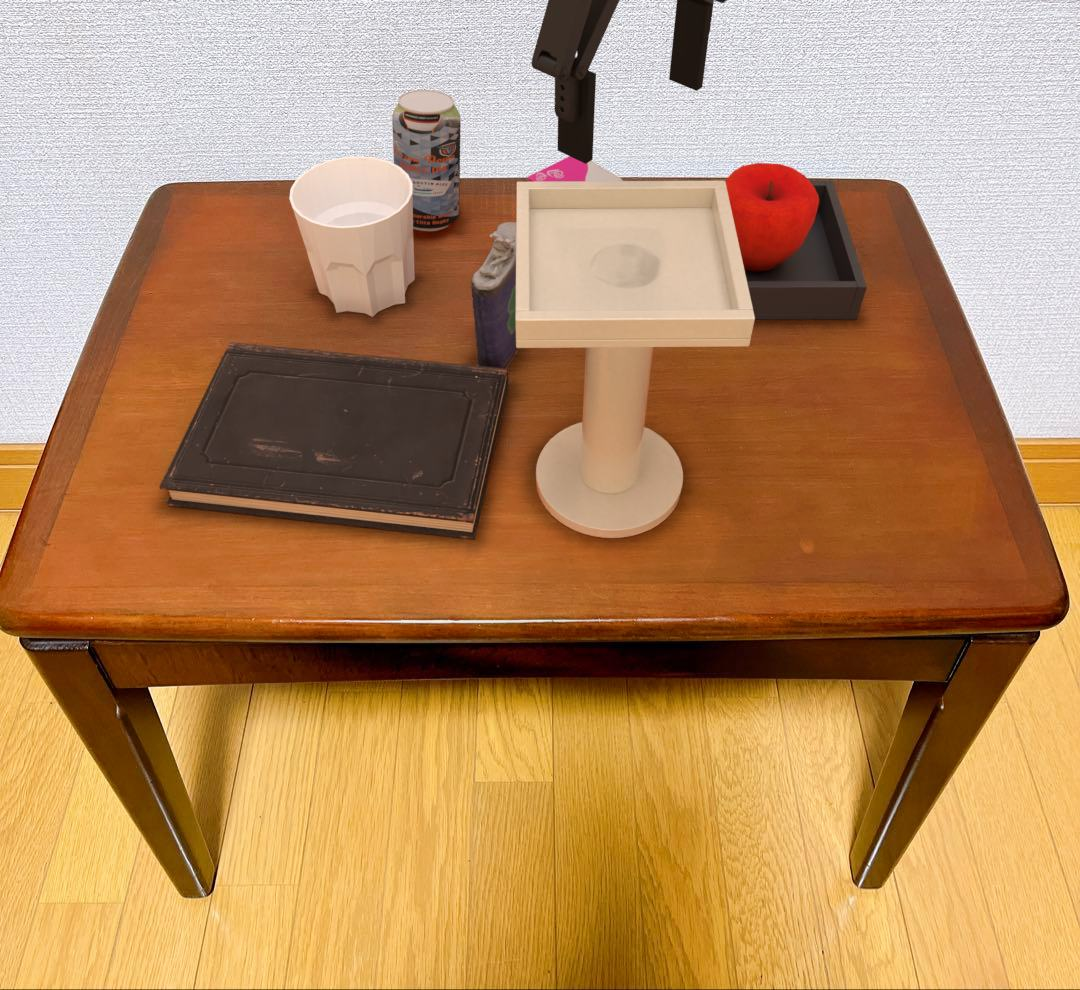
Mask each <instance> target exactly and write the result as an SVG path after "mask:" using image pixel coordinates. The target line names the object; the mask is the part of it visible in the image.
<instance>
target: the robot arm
mask: <svg viewBox="0 0 1080 990" xmlns="http://www.w3.org/2000/svg"><path fill="white" fill-rule="evenodd" d="M714 2H718V3H721V4H724V3H725V2H727V0H676V7H675V17H674V27H673V37H672V47H671V56H670V66H669V76H668V80H669V81H672V82H674V83H676V84H679V85H681V86H683V87H686V88H688V89H691V90H693V91H696V92H697V91H699V90H701V89H702V88H703V85H704V79H705V78H704V77H705V69H706V61H707V53H708V45H709V39H710V32H711V26H712V17H713V11H714ZM619 3H620V0H547V4H546V8H545V12H544V15H543V19H542V21H541V24H540V25H541V26H540V29H539V33H538V37H537V40H536V42H535V47H534V50H533V54H532V56H531V67H532V69H534V70H537V71H539V72H540V73H543V74H544V75H545V74H546V75H547V76H550V77H552V78H554V114H555V116H556V117H557V151H558V152H560V153H562V154H564V155H566V156H567V157H569V156H570V157H572V158H574V159H577V160H579V161H581V162H583V163H585V164H587V163H588V162H590V161H593V159H594V158H593V154H594V133H595V132H594V131H595V111H596V110H595V109H596V85H597V84H596V83H597V73H595V72H593V71H591V70H590V68H591V64H592V62H593V61H594V58H595V56H596V53H597V52H598V49H599V47H600V44H601V43H602V40H603V38H604V35H606V31H607V29H608V27H609V25H610V24H611V23H610V22H611V20H612V18H613V16H614V13H615V11H616V9H617V7H618V6H619V5H618V4H619ZM576 55H577V56H576Z"/></svg>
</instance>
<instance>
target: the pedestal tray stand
mask: <svg viewBox="0 0 1080 990" xmlns="http://www.w3.org/2000/svg"><path fill="white" fill-rule="evenodd" d="M725 181H726V180H623V181H551V182H527V181H516V200H515V201H516V203H515V204H516V205H515V207H516V208H515V209H516V210H515V211H516V213H515V215H516V216H515V219H516V220H515V223H516V304H515V326H516V348H518V349H546V348H547V349H558V348H560V349H561V348H563V349H564V348H565V349H566V348H569V349H571V348H573V349H575V348H576V349H577V348H578V349H581V348H583V349H584V348H585V353H584V355H585V357H584V375H583V395H582V396H583V398H582V399H583V401H582V416H581V417H582V419H581V421H579V422H576V423H574V424H572V425H569V426H567V427H565V428H564V429H562V430H561V431H559V432H557V433H556V434H555V435H553V436H552V437H551V438H550V439H549V440H548V441H547V442H546V444H545V445H544V447H543V448H542V450H541V451H540V453H539V456H538V457H537V462H536V465H535V488H536V491H537V494H538V497H539V500H540V501H541V503H542V505H543V506H544V508H545V510H547V512H548V513H549V514H550V516H552V518H554V519H555V520H556V521H558V522H559V523H561V524H562V525H563V526H565V527H567V528H569V529H571V530H573V531H574V532H577V533H581V534H582V535H587V536H591V537H594V538H595V537H596V538H603V539H622V538H627V537H633V536H637V535H641V534H644V533H646V532H648V531H650V530H652V529H654V528H655V527H658V526H659V525H660V524H662V523H663V522H664V521H665V520H666V519H668V517H669V516H670V515H671V514H672V513H673V511H674V510H675V508H676V507H677V505H678V504H679V501H680V498H681V496H682V495H681V494H682V489H683V482H684V470H683V465H682V462H681V460H680V457H679V456H678V454H677V453H676V451H675V449H674V448H673V446H671V444H670V442H668V441H667V440H666V439H665V438H664V437H663V436H661V435H660V434H659V433H657V432H655V431H654V430H652V429H650V428H649V427H647V426H645V425H646V417H647V407H648V401H649V391H650V381H651V373H652V364H653V357H654V356H653V355H654V349H655V348H713V347H714V348H715V347H717V348H718V347H721V348H722V347H723V348H724V347H725V348H726V347H731V348H732V347H737V348H738V347H739V348H740V347H750V344H751V339H752V335H753V330H754V325H755V316H754V311H753V306H752V302H751V297H750V293H749V288H748V284H747V279H746V274H745V270H744V265H743V261H742V256H741V251H740V247H739V242H738V238H737V233H736V228H735V224H734V219H733V215H732V210H731V205H730V201H729V196H728V192H727V187H726V182H725Z"/></svg>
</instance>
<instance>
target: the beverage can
mask: <svg viewBox="0 0 1080 990" xmlns="http://www.w3.org/2000/svg"><path fill="white" fill-rule="evenodd" d="M391 117H392V118H391V119H392V120H391V121H392V123H391V125H392V147H393V148H392V151H393V164H395V165H397V166H399V167H401V168H402V169H403V170H404V171H405V172H406V173H407V174H408V175H409V177H410V179H411V181H412V191H413V230H416V231H421V232H438V231H442V230H444V229H446V228H448V227H449V226H450V225H452V224H453V223H455V222H457V220H458V219H459V217H460V209H461V208H460V206H461V205H460V204H461V201H460V200H461V198H460V197H461V196H460V195H461V194H460V193H461V192H460V191H461V114H460V112H459V110H458V108H457V107H456V105H455V100H454V98H453V97H452V96H451V95H449V94H447V93H446V92H442V91H439V90H432V89H417V90H416V89H415V90H411V91H407V92H404V93H403V94H401V95H400V96H399V97H398V100H397V104H396V106H395V108H394V109H393V111H392V116H391Z"/></svg>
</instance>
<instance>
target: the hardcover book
mask: <svg viewBox="0 0 1080 990" xmlns="http://www.w3.org/2000/svg"><path fill="white" fill-rule="evenodd" d="M508 390H509V370H508V367H507V368H497V367H486V366H478V365H474V364H465V363H454V362H444V361H443V362H442V361H432V360H422V359H412V358H403V357H402V358H401V357H390V356H380V355H370V354H359V353H350V352H349V353H348V352H338V351H337V352H336V351H328V350H327V351H326V350H317V349H306V348H296V347H295V348H294V347H286V346H275V345H266V344H265V345H264V344H255V343H254V344H253V343H245V342H244V343H243V342H234V341H233V342H232V341H231V342H229V343H228V345H227V347H226V350H225V351H224V354H223V355H222V357H221V359H220V361H219V364H218V365H217V368H216V369H215V372H214V374H213V376H212V378H211V380H210V381H209V383H208V386H207V388H206V390H205V392H204V394H203V396H202V398H201V400H200V403H199V404H198V406H197V409H196V411H195V413H194V414H193V417H192V418H191V421H190V423H189V424H188V427H187V429H186V431H185V432H184V435H183V437H182V439H181V442H180V444H179V445H178V448H176V449H177V450H176V452H175V453H174V456H173V458H172V459H171V462H170V464H169V466H168V468H167V470H166V472H165V474H164V475H163V478H162V480H161V482H160V484H159V486H158V487H159V490H165V491H168V493H169V498H168V500H167V502H166V505H167V506H168V507H178V508H185V509H195V510H202V511H203V510H204V511H212V512H222V513H223V512H224V513H232V514H241V515H250V516H258V517H259V516H261V517H267V518H276V519H285V520H286V519H287V520H296V521H304V522H313V523H323V524H332V525H340V526H350V527H359V528H366V529H367V528H368V529H376V530H386V531H396V532H404V533H412V534H423V535H432V536H441V537H442V536H443V537H450V538H458V539H468V540H476V536H477V530H478V526H479V521H480V517H481V513H482V508H483V503H484V498H485V495H486V491H487V487H488V482H489V481H488V480H489V477H490V472H491V467H492V462H493V458H494V453H495V450H496V445H497V441H498V435H499V432H500V428H501V423H502V417H503V413H504V410H505V404H506V400H507V395H508Z"/></svg>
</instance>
